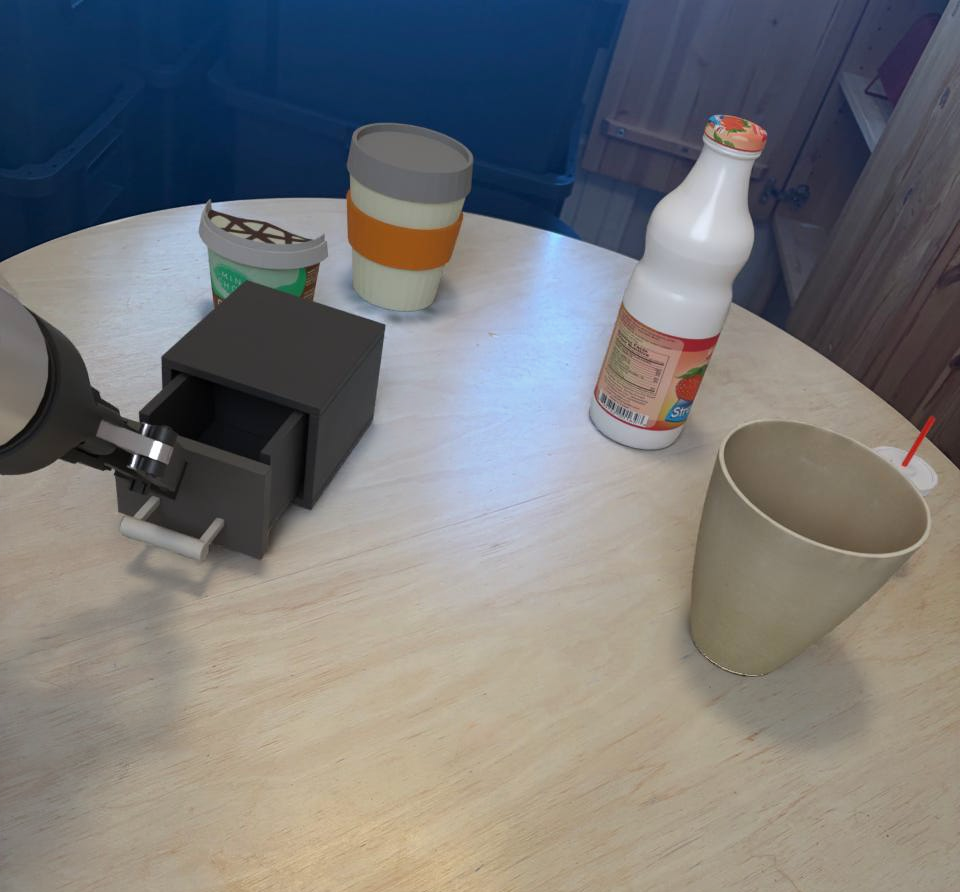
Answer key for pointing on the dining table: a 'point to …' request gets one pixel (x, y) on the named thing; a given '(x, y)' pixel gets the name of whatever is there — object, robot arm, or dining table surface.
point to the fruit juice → (679, 293)
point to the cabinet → (291, 368)
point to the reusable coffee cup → (404, 211)
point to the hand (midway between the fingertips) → (171, 478)
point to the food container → (258, 255)
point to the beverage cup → (913, 462)
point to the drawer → (219, 470)
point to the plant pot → (795, 540)
